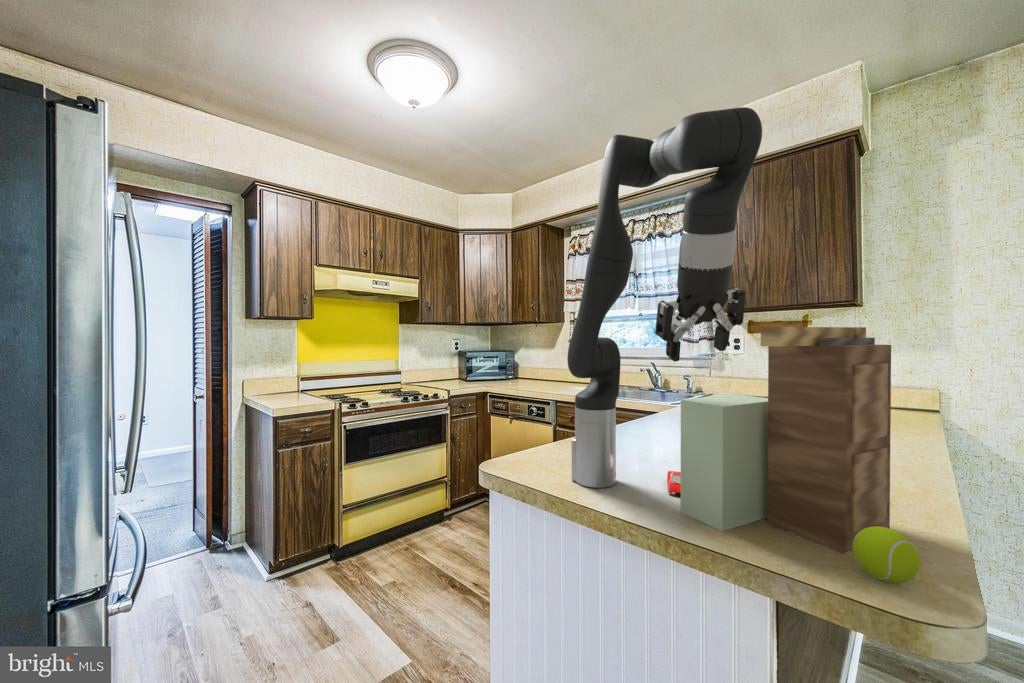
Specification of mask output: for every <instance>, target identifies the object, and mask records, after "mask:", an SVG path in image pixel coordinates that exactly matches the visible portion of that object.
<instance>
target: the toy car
mask: <svg viewBox="0 0 1024 683" xmlns="http://www.w3.org/2000/svg"><path fill="white" fill-rule="evenodd" d="M666 474H667V476H666V482H667V489H668V490H667V491H668V495H669V496H671V495H673V496H672V497H676V496H678V497H677V498H681V471H675V470H668V471H667V473H666Z"/></svg>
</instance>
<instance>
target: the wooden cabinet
mask: <svg viewBox="0 0 1024 683" xmlns="http://www.w3.org/2000/svg"><path fill="white" fill-rule="evenodd" d="M875 338H876V337H866V338H821V345H815V346H767V348H768V349H767V350H768V354H767V355H768V356H767V357H768V358H767V362H768V364H767V365H768V366H767V367H768V368H767V369H768V370H767V374H768V375H767V377H768V378H767V383H768V384H767V385H768V386H767V388H768V389H767V391H768V392H767V398H768V517H767V524H768V525H771V526H774V527H777V528H779V529H780V530H781V529H782V530H784V531H787V532H789V533H790V534H793V535H796V536H800V537H801V538H804V539H806V540H809V541H812V542H814V543H817V544H818V545H821V546H824V547H826V548H829V549H832V550H834V551H837V552H839V553H841V554H846V553H849V552H852V551H853V547H852V546H853V540H854V538H855V536H856V535H857V533H858V532H860V531H861V530H863V529H865V528H868V527H874V526H878V527H885V528H889V529H891V528H890V522H891V521H890V520H891V519H890V517H891V509H890V508H891V506H890V505H891V501H890V500H891V422H892V421H891V418H892V417H891V416H892V414H891V412H892V411H891V409H892V408H891V403H892V401H891V400H892V398H891V397H892V396H891V395H892V391H891V390H892V386H891V385H892V344H875V340H876V339H875Z"/></svg>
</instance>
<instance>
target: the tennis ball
mask: <svg viewBox="0 0 1024 683" xmlns="http://www.w3.org/2000/svg"><path fill="white" fill-rule="evenodd" d="M852 547H853V550H852V552H853V556H854V559H855V561H856V563H857V564H858V566H860V567H861V569H862V570H863V571H865V572H866V573H867V574H868V575H869V576H871V577H872V578H875V579H876V580H879V581H882V582H885V583H890V584H903V583H907V582H909V581H911V580H912V579H914V578H915V577H916V576H917V574H918V573H919V572H920V568H921V558H920V554H919V552H918V550H917V548H916V547H915V545H914V544H913V542H912V541H910V539H909V538H907V537H906V536H904V535H903V534H902V533H900V532H899V531H896V530H894V529H893V528H890V529H889V528H885V527H878V526H874V527H868V528H865V529H863V530H861V531H860V532H858V533H857V535H856V536H855V538H854V540H853V546H852Z"/></svg>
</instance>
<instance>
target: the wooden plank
mask: <svg viewBox="0 0 1024 683" xmlns="http://www.w3.org/2000/svg"><path fill="white" fill-rule="evenodd" d="M821 338H867V327H865V326H863V327H860V326H856V327H855V326H853V327H851V326H850V327H849V326H846V327H845V326H839V327H838V326H837V327H835V326H829V327H828V326H760V346H761V347H768V346H815V345H821Z"/></svg>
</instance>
